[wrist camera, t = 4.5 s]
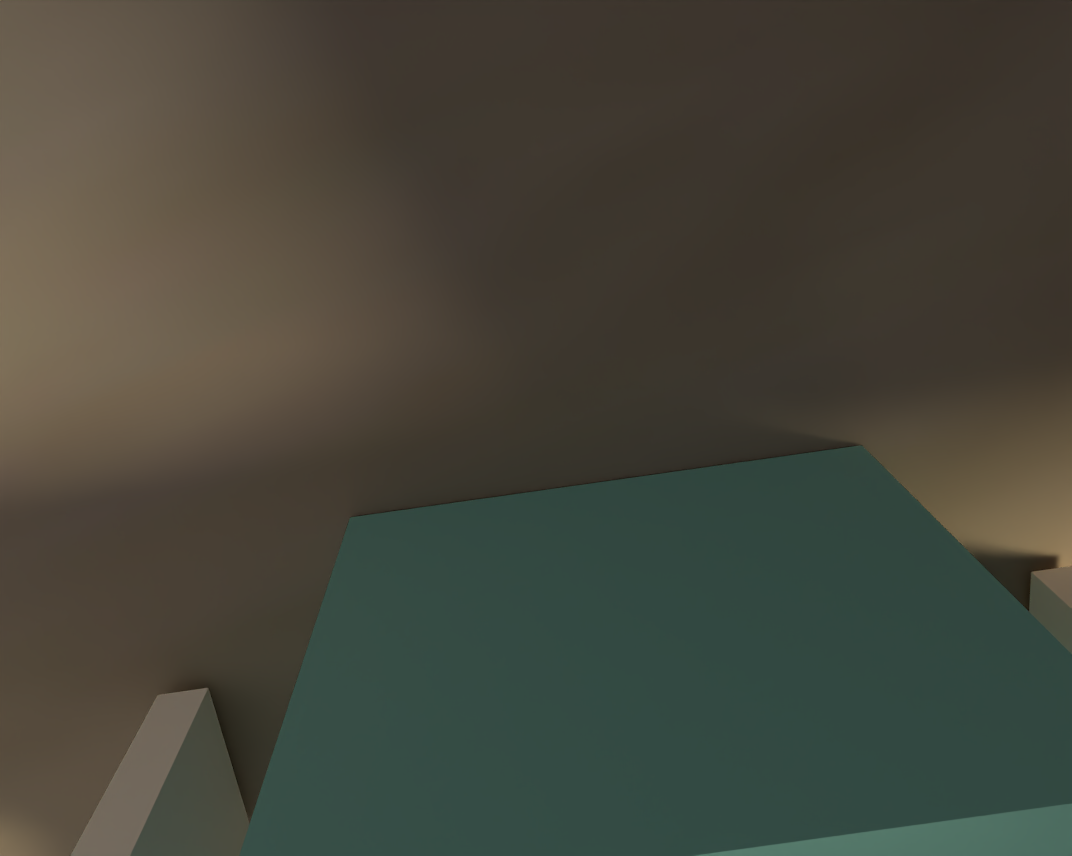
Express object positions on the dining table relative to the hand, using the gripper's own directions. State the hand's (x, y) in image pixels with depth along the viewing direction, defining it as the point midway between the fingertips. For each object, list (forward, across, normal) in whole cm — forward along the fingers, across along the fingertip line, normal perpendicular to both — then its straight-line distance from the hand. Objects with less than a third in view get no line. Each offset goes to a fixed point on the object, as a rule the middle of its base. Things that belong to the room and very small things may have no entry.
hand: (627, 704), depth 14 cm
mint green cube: (0, 0, 0) cm, 0 cm away
